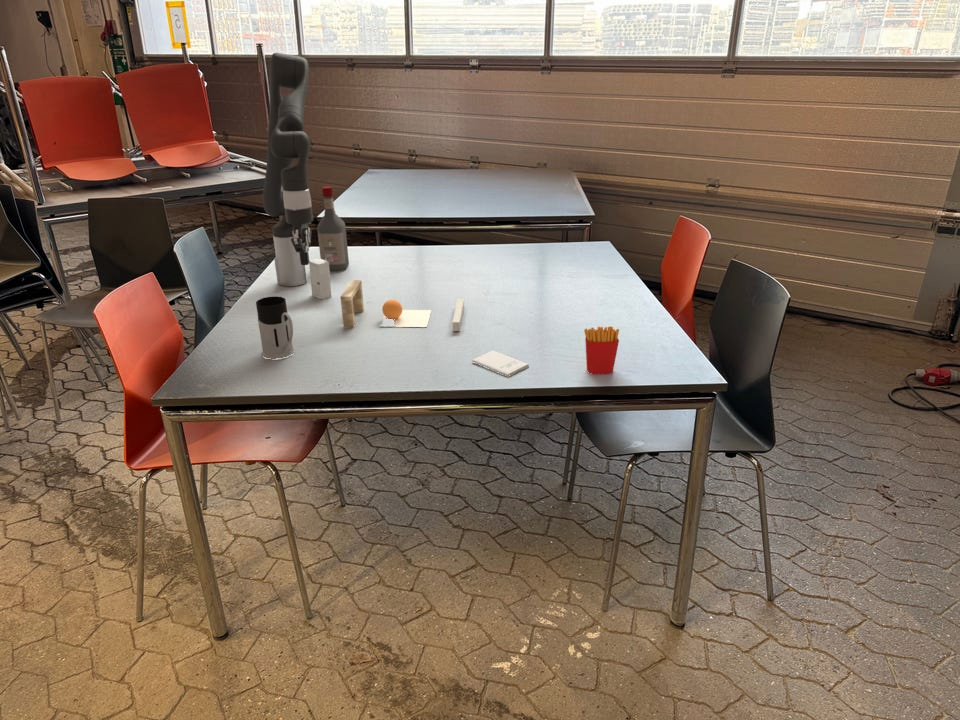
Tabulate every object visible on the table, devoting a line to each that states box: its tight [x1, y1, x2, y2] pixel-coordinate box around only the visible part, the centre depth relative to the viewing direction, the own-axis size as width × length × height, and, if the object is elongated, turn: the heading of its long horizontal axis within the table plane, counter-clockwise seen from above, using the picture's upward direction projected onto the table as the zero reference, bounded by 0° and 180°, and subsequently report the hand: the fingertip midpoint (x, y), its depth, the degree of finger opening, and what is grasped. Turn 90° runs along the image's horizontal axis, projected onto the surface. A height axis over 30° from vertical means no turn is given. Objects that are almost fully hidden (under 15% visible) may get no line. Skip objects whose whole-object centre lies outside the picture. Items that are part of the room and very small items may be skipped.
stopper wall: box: [452, 298, 465, 332], centre depth 200 cm, size 2×20×3 cm, turn 177°
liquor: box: [316, 185, 350, 273], centre depth 243 cm, size 9×9×30 cm
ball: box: [382, 299, 403, 319], centre depth 201 cm, size 6×6×6 cm
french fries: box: [584, 326, 620, 375], centre depth 165 cm, size 8×4×12 cm, turn 90°
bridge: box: [339, 279, 365, 328], centre depth 200 cm, size 3×15×10 cm, turn 178°
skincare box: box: [308, 257, 332, 300], centre depth 219 cm, size 6×4×12 cm
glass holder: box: [255, 295, 296, 359], centre depth 174 cm, size 9×14×15 cm, turn 43°
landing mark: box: [383, 309, 433, 328], centre depth 202 cm, size 14×14×1 cm
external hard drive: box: [471, 350, 530, 377], centre depth 172 cm, size 2×8×12 cm
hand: (305, 264), depth 196 cm, fingers closed
